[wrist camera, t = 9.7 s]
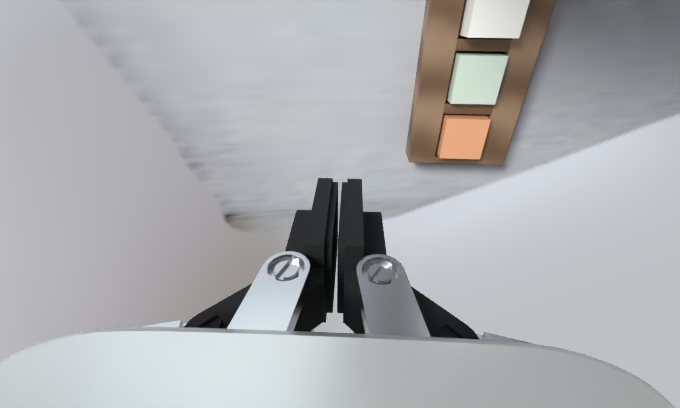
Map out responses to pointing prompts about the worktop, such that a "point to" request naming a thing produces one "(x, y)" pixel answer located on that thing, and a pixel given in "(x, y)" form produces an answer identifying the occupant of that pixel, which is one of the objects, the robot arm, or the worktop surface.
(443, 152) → the terracotta key
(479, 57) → the sage key
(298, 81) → the worktop surface
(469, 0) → the ivory key
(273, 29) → the worktop surface
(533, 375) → the robot arm
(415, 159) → the key panel
